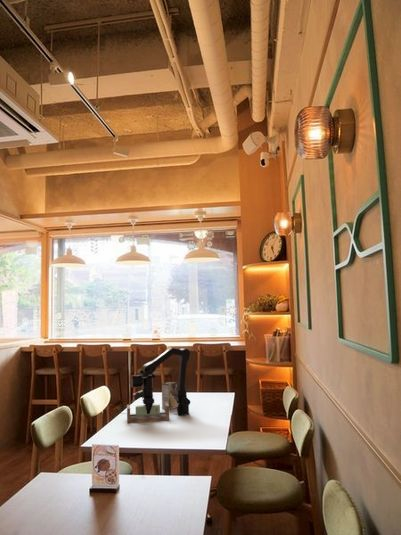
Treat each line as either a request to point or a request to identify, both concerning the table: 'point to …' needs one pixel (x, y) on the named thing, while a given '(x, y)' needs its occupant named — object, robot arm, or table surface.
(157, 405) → the door panel
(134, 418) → the cabinet base
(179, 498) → the table surface
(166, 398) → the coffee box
